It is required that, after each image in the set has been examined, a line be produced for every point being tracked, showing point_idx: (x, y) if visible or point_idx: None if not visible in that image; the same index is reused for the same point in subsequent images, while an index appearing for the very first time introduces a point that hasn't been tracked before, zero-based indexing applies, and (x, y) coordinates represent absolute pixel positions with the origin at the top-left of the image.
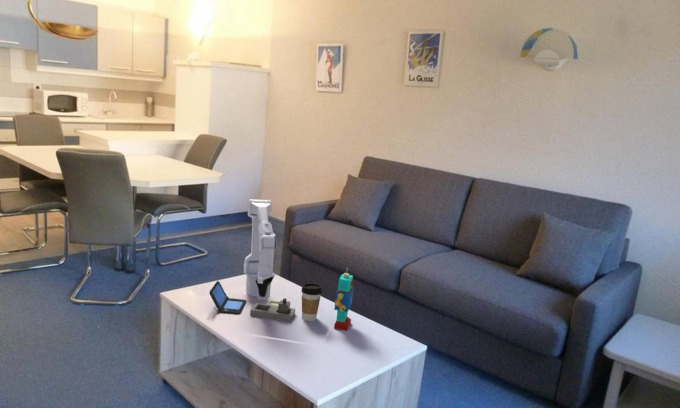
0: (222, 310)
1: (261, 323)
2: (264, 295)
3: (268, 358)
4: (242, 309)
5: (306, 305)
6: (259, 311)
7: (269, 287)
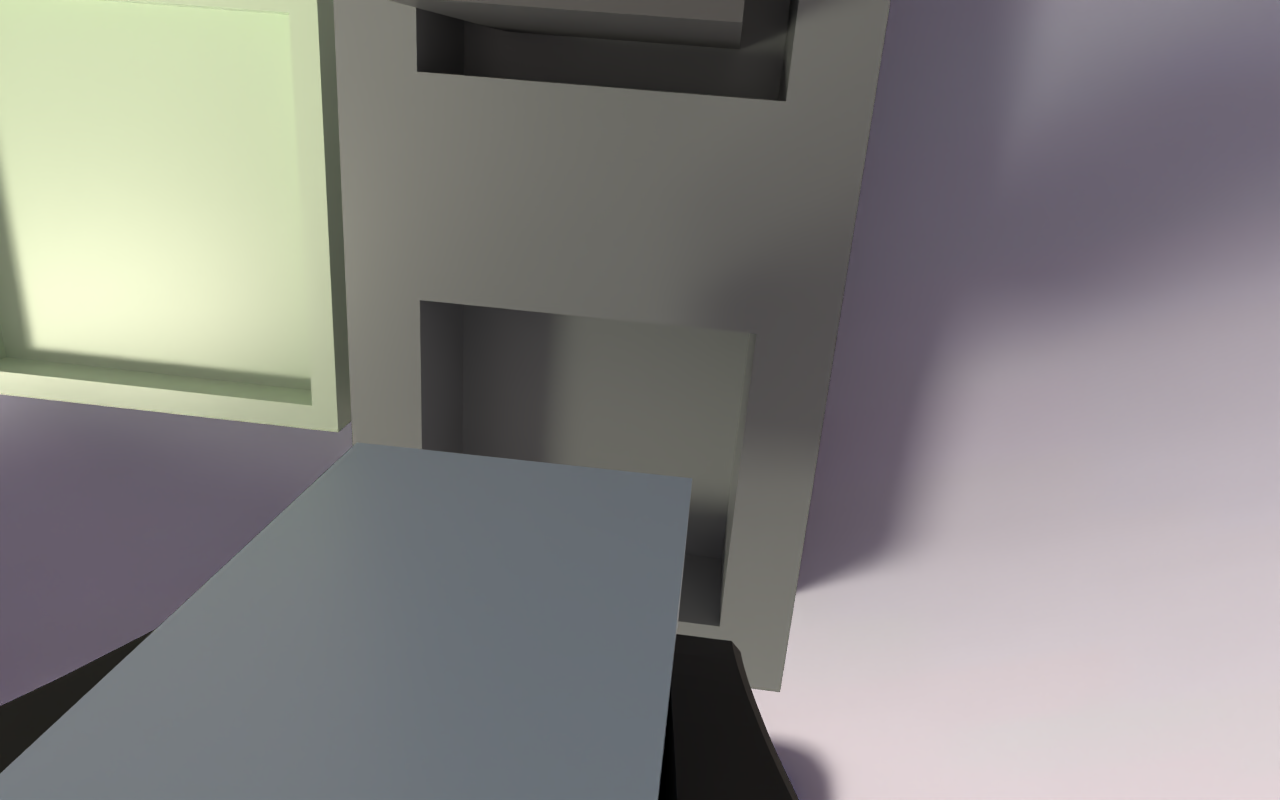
0: None
1: (1063, 346)
2: (744, 683)
3: None
4: None
5: None
6: (809, 503)
7: (301, 740)
